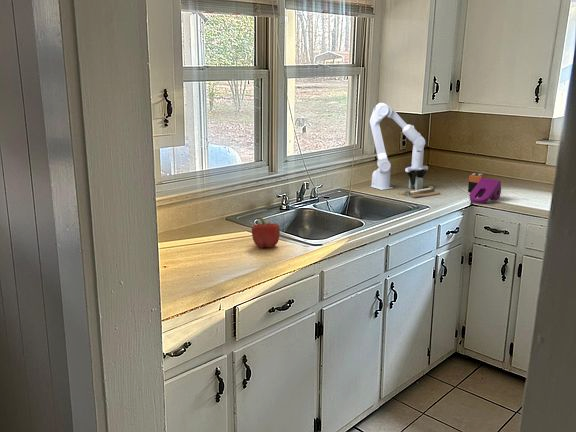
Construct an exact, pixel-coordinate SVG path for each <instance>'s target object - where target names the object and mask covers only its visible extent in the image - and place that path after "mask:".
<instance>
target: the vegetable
mask: <svg viewBox="0 0 576 432" xmlns="http://www.w3.org/2000/svg"><path fill="white" fill-rule="evenodd" d="M256 220H259V221H261V223H258V224H256V225H254V226H252V228H251V236H252V240H253V243H254V245H256V246H257V247H259V248H260V249H264V248H271V247H275V246H276V245H277V244H278V242H279V240H280V226H279V224H278V223H271V222H267V223H266V221H265V220H264V218H262V217H261V216H259V217H256Z"/></svg>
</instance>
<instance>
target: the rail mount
mask: <svg viewBox="0 0 576 432" xmlns="http://www.w3.org/2000/svg"><path fill="white" fill-rule="evenodd" d="M435 190H436V187H434V186H428V188H422V189H420V190H415V189H413V190H404V191H402V192H398V195H402V196H404V197H409V198H411V199H419V198H426V197H430V196H431V197H432V196H437V195H438V196H439V195H441V192H437V191H435Z"/></svg>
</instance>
